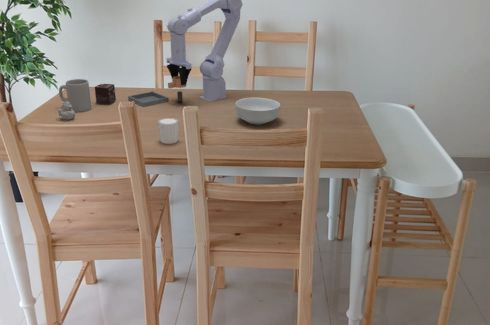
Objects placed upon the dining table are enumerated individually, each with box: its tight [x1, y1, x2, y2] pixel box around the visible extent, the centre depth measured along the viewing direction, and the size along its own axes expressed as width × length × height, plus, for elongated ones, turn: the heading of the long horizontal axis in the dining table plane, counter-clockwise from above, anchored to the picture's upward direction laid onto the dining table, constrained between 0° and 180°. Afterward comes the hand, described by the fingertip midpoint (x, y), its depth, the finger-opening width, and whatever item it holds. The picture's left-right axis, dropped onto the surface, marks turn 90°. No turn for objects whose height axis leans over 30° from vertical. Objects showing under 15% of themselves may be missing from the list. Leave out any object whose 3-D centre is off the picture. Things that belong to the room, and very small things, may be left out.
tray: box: [127, 91, 170, 108], centre depth 199 cm, size 12×12×2 cm
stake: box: [167, 91, 194, 107], centre depth 197 cm, size 8×8×5 cm
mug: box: [58, 78, 92, 113], centre depth 187 cm, size 12×8×11 cm
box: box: [94, 83, 117, 106], centre depth 196 cm, size 6×6×7 cm
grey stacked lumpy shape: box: [57, 99, 76, 121], centre depth 176 cm, size 5×7×8 cm
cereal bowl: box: [234, 96, 281, 125], centre depth 179 cm, size 17×17×7 cm
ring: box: [167, 75, 187, 89], centre depth 193 cm, size 8×5×4 cm
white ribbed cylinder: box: [157, 117, 180, 145], centre depth 158 cm, size 7×7×7 cm
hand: (179, 83), depth 194 cm, fingers closed on ring, 5 cm apart
